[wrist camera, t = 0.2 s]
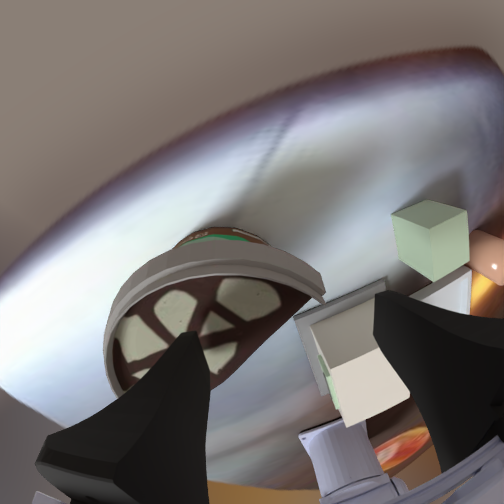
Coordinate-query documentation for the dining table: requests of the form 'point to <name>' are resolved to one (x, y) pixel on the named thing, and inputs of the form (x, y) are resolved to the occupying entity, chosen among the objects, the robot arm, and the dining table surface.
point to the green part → (432, 238)
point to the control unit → (350, 356)
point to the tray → (449, 291)
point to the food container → (205, 303)
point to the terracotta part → (486, 255)
